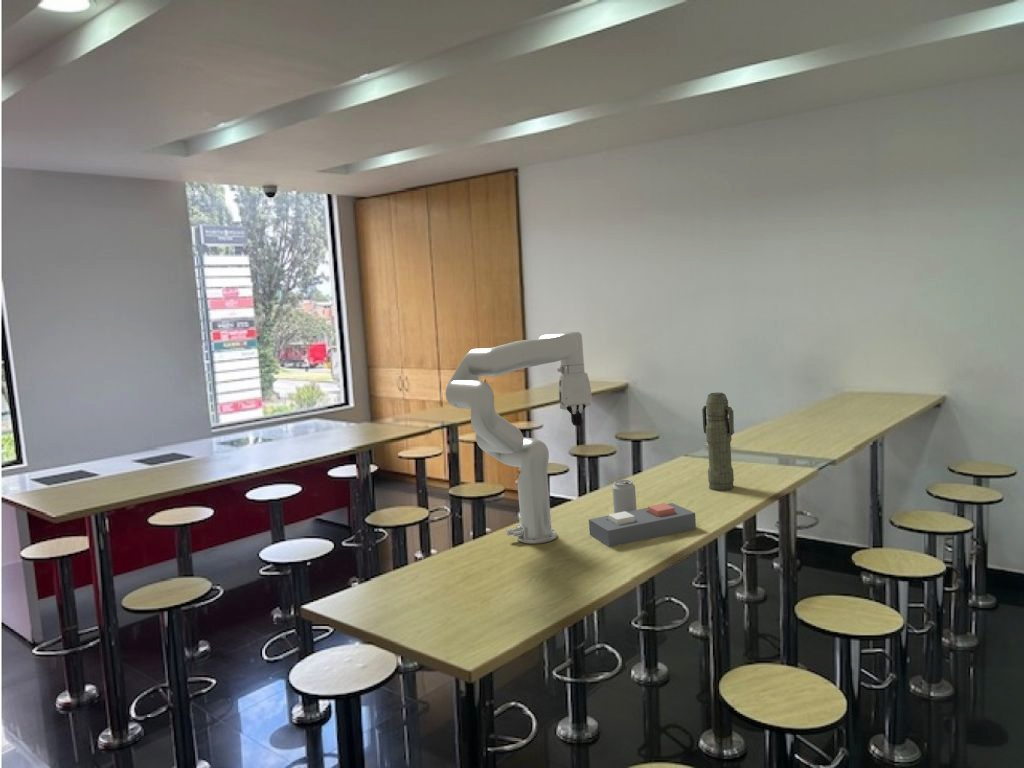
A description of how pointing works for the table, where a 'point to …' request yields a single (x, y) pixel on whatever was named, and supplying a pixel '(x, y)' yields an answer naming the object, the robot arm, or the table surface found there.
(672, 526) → the key panel
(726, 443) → the thermos
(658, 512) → the red key
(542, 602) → the table surface
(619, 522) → the white key
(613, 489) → the can
